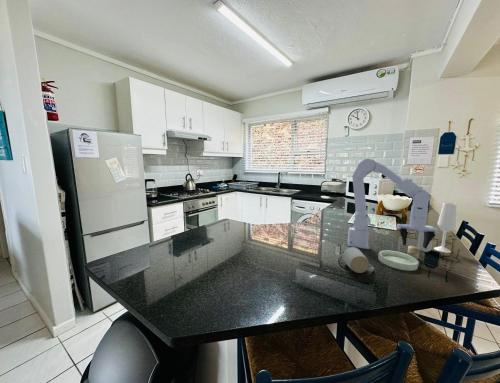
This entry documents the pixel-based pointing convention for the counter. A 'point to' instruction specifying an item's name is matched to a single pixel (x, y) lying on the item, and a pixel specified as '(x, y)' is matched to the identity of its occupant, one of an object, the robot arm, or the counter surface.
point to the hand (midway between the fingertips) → (414, 246)
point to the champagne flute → (446, 223)
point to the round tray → (398, 260)
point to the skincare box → (420, 241)
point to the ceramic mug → (356, 260)
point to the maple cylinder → (413, 251)
